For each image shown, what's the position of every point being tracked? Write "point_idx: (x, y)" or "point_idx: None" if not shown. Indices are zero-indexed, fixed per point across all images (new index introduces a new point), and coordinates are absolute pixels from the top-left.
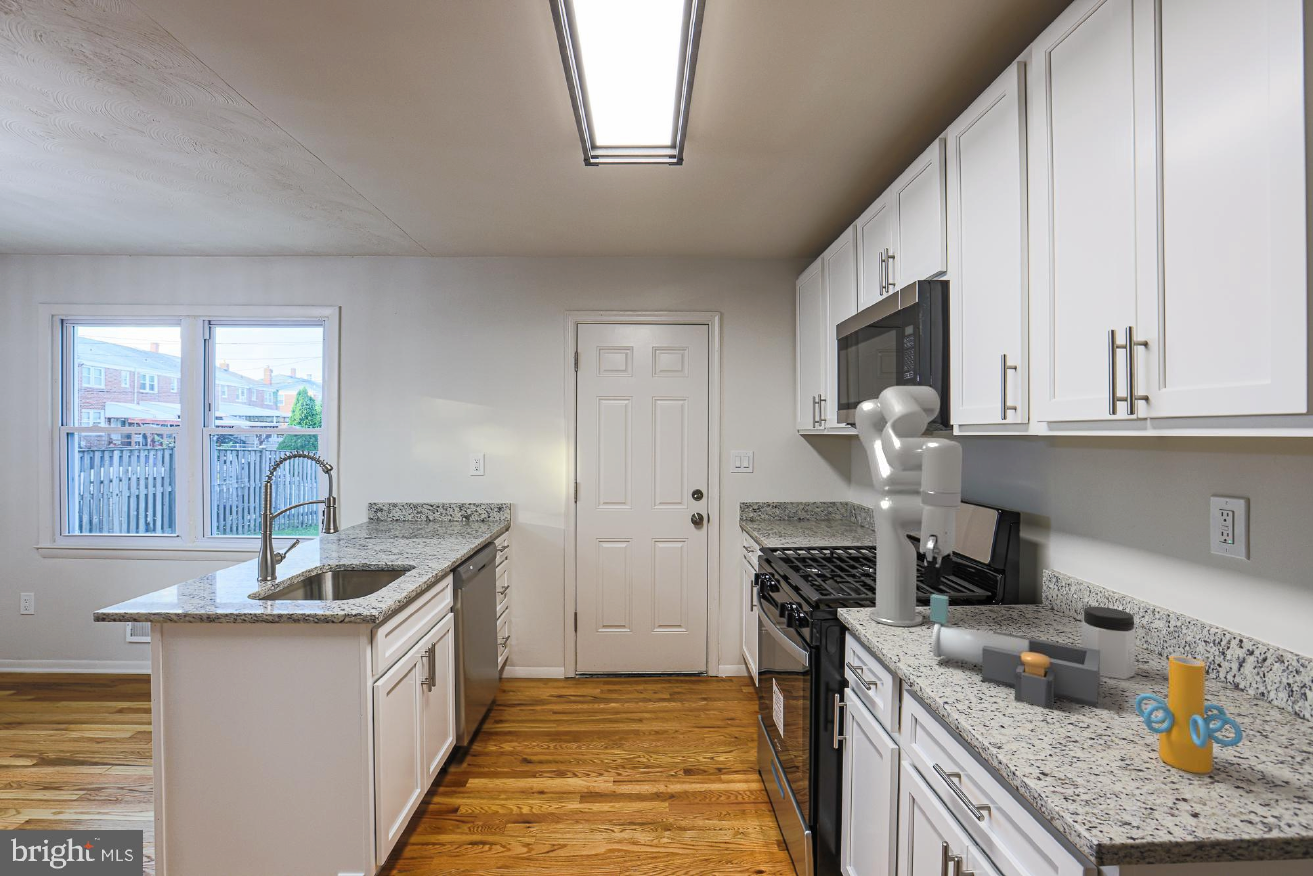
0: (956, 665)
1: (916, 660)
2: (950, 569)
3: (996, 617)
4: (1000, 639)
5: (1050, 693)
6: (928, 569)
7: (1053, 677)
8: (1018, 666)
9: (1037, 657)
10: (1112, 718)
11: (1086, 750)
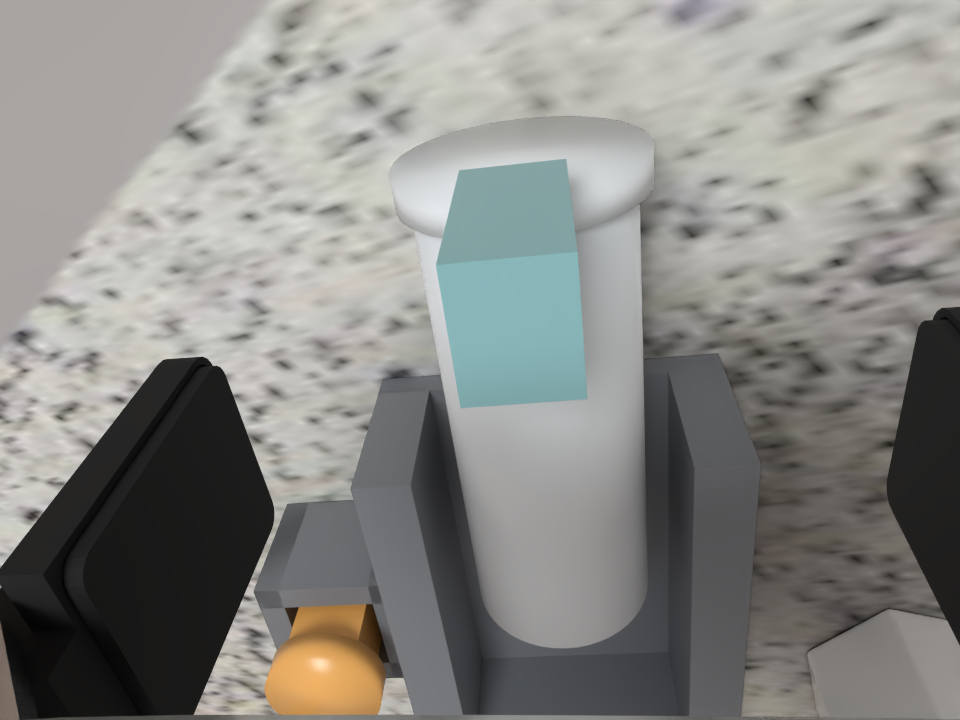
0: None
1: (422, 14)
2: (929, 572)
3: None
4: (512, 550)
5: None
6: (9, 599)
7: None
8: (348, 588)
9: (317, 702)
10: (400, 696)
11: None
